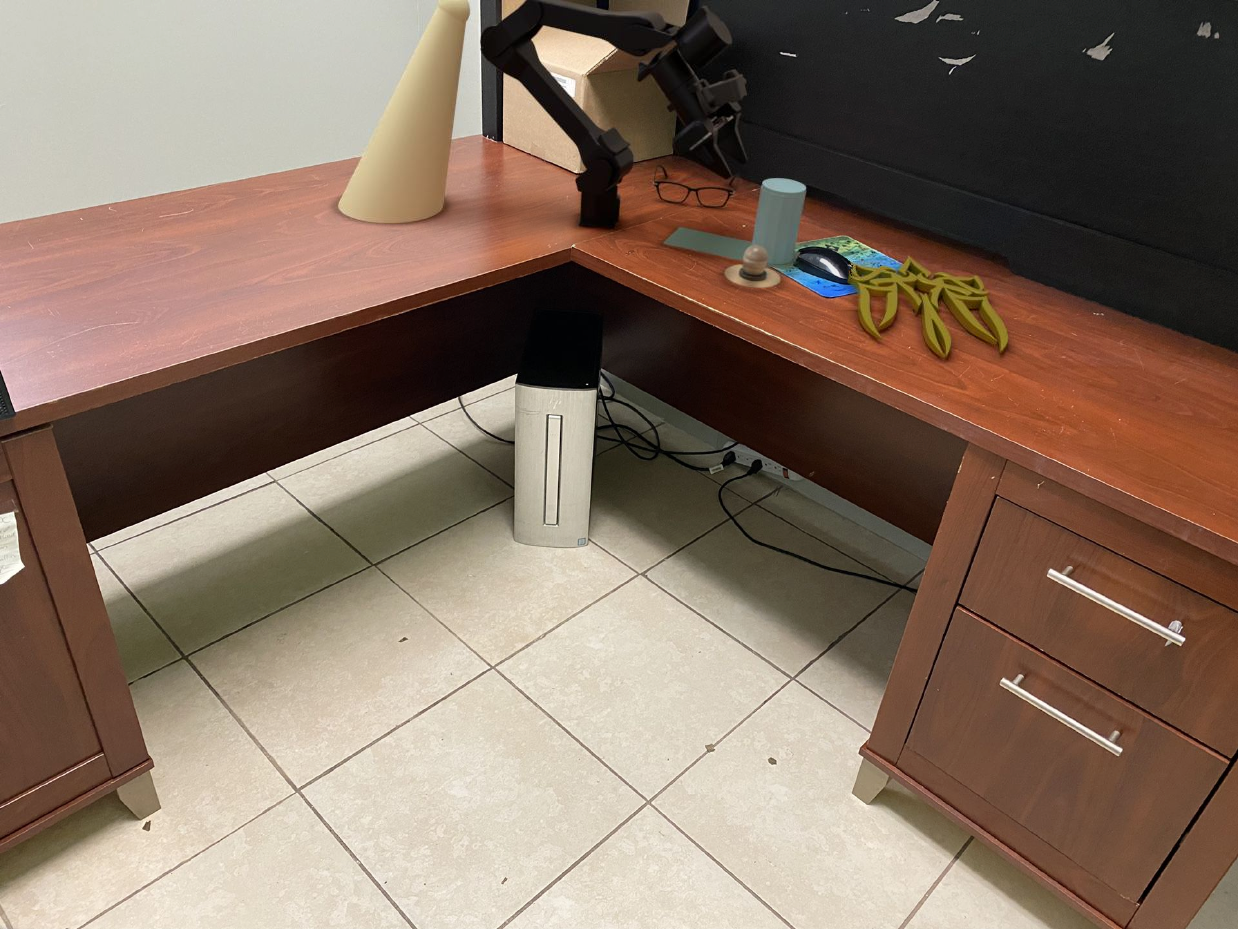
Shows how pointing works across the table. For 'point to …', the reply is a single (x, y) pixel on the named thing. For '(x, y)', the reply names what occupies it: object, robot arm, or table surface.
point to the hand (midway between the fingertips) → (737, 170)
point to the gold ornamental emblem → (927, 302)
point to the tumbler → (779, 218)
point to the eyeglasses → (693, 189)
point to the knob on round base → (753, 270)
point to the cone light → (414, 130)
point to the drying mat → (716, 245)
